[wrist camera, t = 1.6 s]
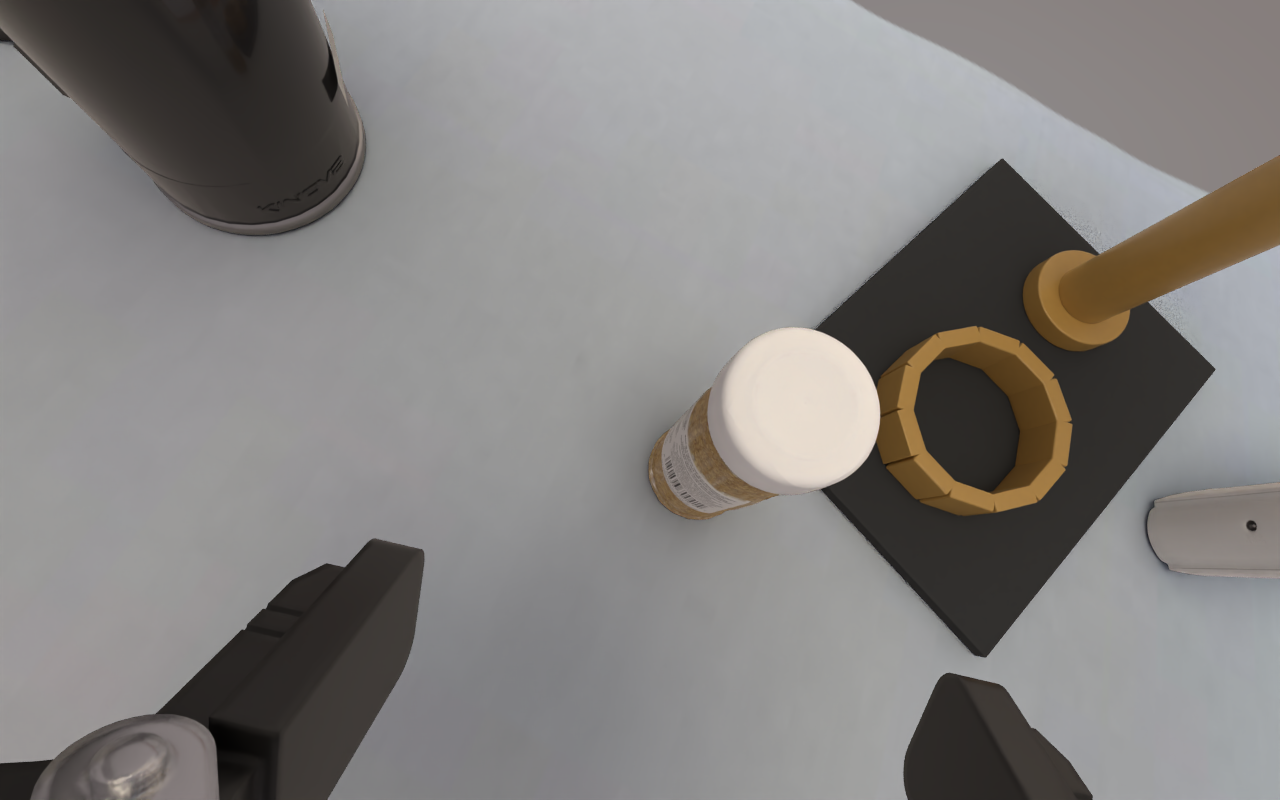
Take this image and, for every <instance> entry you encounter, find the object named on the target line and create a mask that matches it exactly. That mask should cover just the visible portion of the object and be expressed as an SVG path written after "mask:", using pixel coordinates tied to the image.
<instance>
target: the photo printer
mask: <svg viewBox="0 0 1280 800" xmlns="http://www.w3.org/2000/svg"><path fill="white" fill-rule="evenodd" d="M1147 529H1148V536H1149V540H1150V542H1151V545H1152V547H1153V549H1154V551H1155V553H1156V554H1157V556H1158V557H1159V558H1160V560H1162V561H1163V562H1165V563H1167V564H1168V567H1169V569H1170V570H1172V571H1176V572H1181V573H1186V574H1193V575H1202V576H1222V577H1249V578H1280V482H1277V483H1268V484H1258V485H1249V486H1239V487H1230V488H1220V489H1206V490H1201V491H1191V492H1185V493H1180V494H1175V495H1171V496H1167V497H1164V498H1160V499H1157V500H1155V501H1154V508H1153V509H1151V510H1150V512H1149V516H1148V522H1147Z"/></svg>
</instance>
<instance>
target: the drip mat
mask: <svg viewBox="0 0 1280 800" xmlns="http://www.w3.org/2000/svg"><path fill="white" fill-rule="evenodd" d="M1070 250H1077V251H1084V252H1087V253H1090V254H1093V255H1095V256H1098V255H1099V253H1098V252H1097V251H1096V250H1095V249H1094V248H1093V247H1092V246H1091V245H1090V244H1089V243H1088V242H1087V241H1086V240H1085V239H1084V238H1083V237H1082V236H1081V235H1080V234H1078V233H1077V232H1076V231H1075V230H1074V229H1073V228H1072V227H1071V226H1070V225H1069V224H1068V223H1067V222H1066V221H1065V220H1064V219H1063V218H1062V217H1061V216H1060V215H1059V214H1058V213H1057V212H1056V211H1055V210H1054V209H1053V208H1052V207H1051V206H1050V205H1049V204H1048V203H1047V202H1046V201H1045V200H1044V199H1043V198H1042V197H1041V196H1040V195H1039V194H1038V193H1037V192H1036V191H1035V190H1034V189H1033V188H1032V187H1031V186H1030V185H1029V184H1028V183H1027V182H1026V181H1025V180H1024V179H1023V178H1022V177H1021V176H1020V175H1019V174H1018V173H1017V172H1016V171H1015V170H1014V169H1013V168H1012V167H1011V166H1010V165H1009V164H1008V163H1007V162H1006V161H1005V160H1004V159H1001V160H1000V161H998V162H997V163H996V164H995V165H994V166H993V167H992V168H991V169H990V170H988V171H987V172H986V173H985V174H984V175H983V176H982V177H981V178H980V179H979V180H978V181H976V182H975V183H974V184H973V185H972V186H971V187H970V188H969V189H968V190H967V191H966V192H964V193H963V194H962V195H961V196H960V197H959V198H958V199H957V200H956V201H955V202H954V203H953V204H951V205H950V206H949V207H948V208H947V209H946V210H945V211H944V212H943V213H942V214H941V215H939V216H938V217H937V218H936V219H935V220H934V221H933V222H932V223H931V224H930V225H929V226H927V227H926V228H925V229H924V230H923V231H922V232H921V233H920V234H919V235H918V236H917V237H916V238H914V239H913V240H912V241H911V242H910V243H909V244H908V245H907V246H906V247H905V248H904V249H902V250H901V251H900V252H899V253H898V254H897V255H896V256H895V257H894V258H893V259H892V260H890V261H889V262H888V263H887V264H886V265H885V266H884V267H883V268H882V269H881V270H880V271H879V272H877V273H876V274H875V275H874V276H873V277H872V278H871V279H870V280H869V281H868V282H867V283H865V284H864V285H863V286H862V287H861V288H860V289H859V290H858V291H857V292H856V293H855V294H853V295H852V296H851V297H850V298H849V299H848V300H847V301H846V302H845V303H844V304H843V305H842V306H840V307H839V308H838V309H837V310H836V311H835V312H834V313H833V314H832V315H831V316H830V317H828V318H827V319H826V320H825V321H824V322H823V323H822V324H821V325H820V326H819V327H818V328H816V329H815V330H816V331H819V332H822V333H824V334H827V335H829V336H831V337H833V338H835V339H836V340H838V341H840V342H841V343H843V344H844V345H845V346H846V347H848V348H849V349H850V350H851V351H852V352H853V353H854V354H855V355H856V356H857V357H858V358H859V359H860V360H861V362H862V363H863V364H864V366H865V367H866V369H867V371H868V372H869V374H870V376H871V378H872V380H873V383H874V385H875V388H876V390H877V386H878V381H879V379H881V375H882V374H883V373H884V372H885V371H886V370H887V369H888V368H889V367H890V366H891V365H892V364H893V363H894V362H895V361H896V360H897V359H899V358H900V357H901V356H902V355H903V354H904V353H905V352H906V351H907V350H909V349H910V348H912V347H914V346H916V345H917V344H919V343H921V342H922V341H924V340H926V339H928V338H929V337H931V336H933V335H935V334H937V333H939V332H945V331H950V330H956V329H961V328H967V327H972V326H977V328H978V327H983V328H986V329H989V330H991V331H994V332H997V333H1000V334H1002V335H1005V336H1008V337H1011V338H1013V339H1016V340H1019V341H1020V343H1019V344H1021V343H1024V344H1025V345H1026V346H1027V347H1028V348H1029V349H1030V350H1031V351H1032V352H1033V353H1034V354H1035V355H1036V356H1037V357H1038V358H1039V359H1040V360H1041V361H1042V363H1043V364H1044V365H1045V366H1046V367H1047V368H1048V369H1049V370H1050V371H1051V372H1052V373H1053V374H1054V376H1053V378H1052V379H1054V378H1055V379H1057V381H1058V383H1059V386H1060V389H1061V392H1062V394H1063V397H1064V400H1065V403H1066V405H1067V408H1068V411H1069V414H1070V416H1071V419H1072V420H1071V421H1070V422H1067V423H1070V424H1072V433H1071V441H1070V449H1069V457H1068V464H1067V466H1066V467H1064V468H1065V471H1064V473H1063V474H1062V475H1061V476H1060V477H1059V479H1058V480H1057V481H1056V482H1055V483H1054V485H1053V486H1052V487H1051V488H1050V489H1049V490H1048V492H1047V493H1046V494H1045V495H1044V496H1043V498H1042V499H1041V500H1039V501H1037V503H1034V504H1030V505H1025V506H1021V507H1017V508H1013V509H1009V510H1005V511H1001V512H996V513H987V514H978V515H969V516H962V515H956V514H953V513H950V512H947V511H944V510H941V509H938V508H935V507H932V506H929V505H926V504H923V503H921V502H920V501H919V500H920V499H917V500H916V499H915V498H914V497H913V496H912V495H911V494H910V493H909V492H908V491H907V490H906V489H905V488H904V487H903V485H902V484H901V483H900V482H899V481H898V480H897V479H896V478H895V477H894V476H893V475H892V474H891V473H890V472H889V471H888V469H887V468H886V466H887V465H888V464H889V463H887V464H883V462H882V458H881V455H880V452H879V448H878V445H877V442H876V441H875V444H874V446H873V448H872V450H871V452H870V454H869V456H868V458H867V459H866V460H865V461H864V463H863V464H862V465H861V466H860V467H859V468H858V469H857V470H856V471H855V472H853V473H852V474H851V475H849V476H848V477H847V478H845V479H843V480H841V481H839V482H837V483H835V484H832V485H830V486H827V487H825V488H822V490H823V492H824V493H825V494H826V495H827V496H828V497H829V498H830V499H831V500H832V501H833V502H834V503H835V504H836V506H837V507H838V508H839V509H840V510H841V511H842V512H843V513H844V514H845V515H846V516H847V517H848V519H849V520H850V521H851V522H852V523H853V524H854V525H855V526H856V527H857V528H858V529H859V530H860V532H861V533H862V534H863V535H864V536H865V537H866V538H867V539H868V540H869V541H870V542H871V543H872V544H873V546H874V547H875V548H876V549H877V550H878V551H879V552H880V553H881V554H882V555H883V556H884V557H885V559H886V560H887V561H888V562H889V563H890V564H891V565H892V566H893V567H894V568H895V569H896V570H897V572H898V573H899V574H900V575H901V576H902V577H903V578H904V579H905V580H906V581H907V582H908V583H909V584H910V586H911V587H912V588H913V589H914V590H915V591H916V592H917V593H918V594H919V595H920V596H921V597H922V599H923V600H924V601H925V602H926V603H927V604H928V605H929V606H930V607H931V608H932V609H933V610H934V611H935V613H936V614H937V615H938V616H939V617H940V618H941V619H942V620H943V621H944V622H945V623H946V624H947V626H948V627H949V628H950V629H951V630H952V631H953V632H954V633H955V634H956V635H957V636H958V637H959V639H960V640H961V641H962V642H963V643H964V644H965V645H966V646H967V647H968V648H969V649H970V650H971V651H972V653H973V654H974V655H976V656H981V657H987V655H988V654H989V653H990V652H991V650H992V649H993V648H994V647H995V645H996V644H997V643H998V642H999V640H1000V639H1001V638H1002V637H1003V635H1004V634H1005V633H1006V632H1007V630H1008V629H1009V628H1010V627H1011V625H1012V624H1013V623H1014V622H1015V620H1016V619H1017V618H1018V617H1019V615H1020V614H1021V613H1022V612H1023V610H1024V609H1025V608H1026V607H1027V605H1028V604H1029V603H1030V601H1031V600H1032V599H1033V598H1034V596H1035V595H1036V594H1037V593H1038V591H1039V590H1040V589H1041V588H1042V586H1043V585H1044V584H1045V583H1046V581H1047V580H1048V579H1049V578H1050V576H1051V575H1052V574H1053V573H1054V571H1055V570H1056V569H1057V568H1058V566H1059V565H1060V564H1061V563H1062V561H1063V560H1064V559H1065V558H1066V556H1067V555H1068V554H1069V553H1070V551H1071V550H1072V549H1073V548H1074V546H1075V545H1076V544H1077V543H1078V541H1079V540H1080V539H1081V538H1082V536H1083V535H1084V534H1085V533H1086V531H1087V530H1088V529H1089V528H1090V526H1091V525H1092V524H1093V523H1094V521H1095V520H1096V519H1097V518H1098V516H1099V515H1100V514H1101V513H1102V511H1103V510H1104V509H1105V507H1106V506H1107V505H1108V504H1109V502H1110V501H1111V500H1112V499H1113V497H1114V496H1115V495H1116V494H1117V492H1118V491H1119V490H1120V489H1121V487H1122V486H1123V485H1124V484H1125V482H1126V481H1127V480H1128V479H1129V477H1130V476H1131V475H1132V474H1133V472H1134V471H1135V470H1136V469H1137V467H1138V466H1139V465H1140V464H1141V462H1142V461H1143V460H1144V459H1145V457H1146V456H1147V455H1148V454H1149V452H1150V451H1151V450H1152V449H1153V447H1154V446H1155V445H1156V444H1157V442H1158V441H1159V440H1160V439H1161V437H1162V436H1163V435H1164V434H1165V432H1166V431H1167V430H1168V429H1169V427H1170V426H1171V425H1172V424H1173V422H1174V421H1175V420H1176V418H1177V417H1178V416H1179V415H1180V413H1181V412H1182V411H1183V410H1184V408H1185V407H1186V406H1187V405H1188V403H1189V402H1190V401H1191V400H1192V398H1193V397H1194V396H1195V395H1196V393H1197V392H1198V391H1199V390H1200V388H1201V387H1202V386H1203V385H1204V383H1205V382H1206V381H1207V380H1208V378H1209V377H1210V376H1211V375H1212V373H1213V372H1214V371H1215V368H1214V367H1213V366H1212V365H1211V364H1210V363H1209V362H1208V361H1207V360H1206V359H1205V358H1204V357H1203V356H1202V355H1201V354H1200V353H1199V352H1198V351H1197V350H1196V349H1195V348H1194V347H1193V346H1192V345H1191V344H1190V343H1189V342H1188V341H1187V340H1186V339H1185V338H1184V337H1183V336H1182V335H1181V334H1180V333H1179V332H1178V331H1177V330H1176V329H1174V328H1173V327H1172V326H1171V325H1170V324H1169V323H1168V322H1167V321H1166V320H1165V319H1164V318H1163V317H1162V316H1161V315H1160V314H1159V313H1158V312H1157V311H1156V310H1155V309H1154V308H1153V307H1152V306H1151V305H1150V304H1149V303H1148V302H1146V303H1143V304H1141V305H1139V306H1136V307H1134V308H1132V309H1130V315H1129V320H1128V323H1127V325H1126V327H1125V329H1124V330H1123V332H1122V333H1121V334H1120V335H1119V336H1118V337H1117V338H1116V339H1114V340H1113V341H1111V342H1108V343H1106V344H1103V345H1101V346H1098V347H1096V348H1093V349H1090V350H1087V351H1069V350H1065V349H1062V348H1059V347H1057V346H1055V345H1053V344H1051V343H1050V342H1048V341H1047V340H1046V339H1044V338H1043V337H1042V336H1041V335H1040V334H1039V333H1038V332H1037V331H1036V329H1035V328H1034V327H1033V325H1032V324H1031V322H1030V320H1029V319H1028V316H1027V314H1026V311H1025V308H1024V303H1023V287H1024V283H1025V281H1026V278H1027V276H1028V275H1029V273H1030V272H1031V271H1032V269H1033V268H1035V267H1036V266H1037V265H1039V264H1040V263H1042V262H1043V261H1045V260H1047V259H1048V258H1050V257H1052V256H1053V255H1055V254H1057V253H1060V252H1063V251H1070ZM914 413H915V416H916V420H917V423H918V426H919V429H920V432H921V435H922V439H923V442H924V445H925V448H926V451H927V452H928V453H929V454H930V455H931V456H932V457H933V458H934V459H935V460H936V461H937V462H938V463H939V465H940V466H941V467H942V468H943V469H944V470H945V471H946V472H947V473H948V474H949V475H950V476H951V477H952V478H953V479H954V480H955V481H956V482H959V483H962V484H965V485H968V486H971V487H974V488H977V489H980V490H982V491H985V492H991V491H994V490H995V489H996V487H997V486H998V485H999V484H1000V483H1001V482H1002V481H1003V479H1004V478H1005V477H1006V476H1007V475H1008V474H1009V473H1010V471H1011V470H1012V469H1013V468H1014V467H1015V462H1016V456H1017V449H1018V442H1019V436H1020V430H1019V427H1018V424H1017V421H1016V418H1015V415H1014V412H1013V409H1012V407H1011V404H1010V401H1009V398H1008V396H1007V395H1006V394H1005V393H1004V392H1003V391H1002V390H1001V389H1000V388H999V387H998V386H997V385H996V384H995V383H994V382H993V381H992V379H991V378H990V377H989V376H988V375H987V374H986V373H985V372H984V371H983V370H982V369H980V368H977V367H974V366H971V365H968V364H966V363H963V362H960V361H957V360H954V359H952V358H944V359H939V360H933V361H932V362H931V363H930V364H929V365H928V366H927V367H926V368H925V369H924V370H923V371H922V372H921V375H920V380H919V385H918V390H917V395H916V400H915V405H914Z"/></svg>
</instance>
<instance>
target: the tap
mask: <svg viewBox="0 0 1280 800" xmlns="http://www.w3.org/2000/svg"><path fill="white" fill-rule="evenodd" d="M1278 245H1280V155H1279V156H1277V157H1275V158H1274V159H1272V160H1270V161H1268V162H1266V163H1265V164H1263V165H1261V166H1259V167H1257V168H1255V169H1254V170H1252V171H1250V172H1248V173H1246V174H1245V175H1243V176H1241V177H1239V178H1237V179H1235V180H1234V181H1232V182H1230V183H1228V184H1226V185H1225V186H1223V187H1221V188H1219V189H1218V190H1216V191H1214V192H1212V193H1210V194H1208V195H1206V196H1205V197H1203V198H1201V199H1199V200H1197V201H1196V202H1194V203H1192V204H1190V205H1188V206H1186V207H1185V208H1183V209H1181V210H1179V211H1177V212H1176V213H1174V214H1172V215H1170V216H1168V217H1167V218H1165V219H1163V220H1161V221H1159V222H1157V223H1156V224H1154V225H1152V226H1150V227H1148V228H1147V229H1145V230H1143V231H1141V232H1139V233H1138V234H1136V235H1134V236H1132V237H1130V238H1128V239H1127V240H1125V241H1123V242H1121V243H1119V244H1118V245H1116V246H1114V247H1112V248H1110V249H1109V250H1107V251H1105V252H1103V253H1101V254H1099V255H1098V256H1095V255H1093V254H1090V253H1087V252H1084V251H1077V250H1070V251H1063V252H1060V253H1057V254H1055V255H1053V256H1052V257H1050V258H1048V259H1047V260H1045V261H1043V262H1042V263H1040V264H1039V265H1037V266H1036V267H1035V268H1033V269H1032V271H1031V272H1030V273H1029V275H1028V276H1027V278H1026V281H1025V283H1024V287H1023V303H1024V308H1025V311H1026V314H1027V316H1028V319H1029V320H1030V322H1031V324H1032V325H1033V327H1034V328H1035V329H1036V331H1037V332H1038V333H1039V334H1040V335H1041V336H1042V337H1043V338H1044V339H1046V340H1047V341H1048V342H1050V343H1051V344H1053V345H1055V346H1057V347H1059V348H1062V349H1065V350H1069V351H1087V350H1090V349H1093V348H1096V347H1098V346H1101V345H1103V344H1106V343H1108V342H1111V341H1113V340H1114V339H1116V338H1117V337H1118V336H1119V335H1120V334H1121V333H1122V332H1123V330H1124V329H1125V327H1126V325H1127V323H1128V320H1129V315H1130V309H1132V308H1134V307H1136V306H1139V305H1141V304H1143V303H1146V302H1148V301H1150V300H1153V299H1155V298H1157V297H1160V296H1162V295H1164V294H1167V293H1169V292H1171V291H1174V290H1176V289H1178V288H1181V287H1183V286H1185V285H1188V284H1190V283H1192V282H1195V281H1197V280H1199V279H1202V278H1204V277H1206V276H1209V275H1211V274H1213V273H1216V272H1218V271H1220V270H1223V269H1225V268H1227V267H1230V266H1232V265H1234V264H1236V263H1239V262H1241V261H1243V260H1246V259H1248V258H1250V257H1253V256H1255V255H1257V254H1260V253H1262V252H1264V251H1267V250H1269V249H1271V248H1274V247H1276V246H1278ZM1019 343H1020V341H1019V340H1016V339H1013V338H1011V337H1008V336H1005V335H1002V334H1000V333H997V332H994V331H991V330H989V329H986V328H983V327H978V328H977V326H972V327H967V328H961V329H956V330H950V331H945V332H939V333H937V334H935V335H933V336H931V337H929V338H928V339H926V340H924V341H922V342H921V343H919V344H917V345H916V346H914V347H912V348H910V349H909V350H907V351H906V352H905V353H904V354H903V355H902V356H901V357H900V358H899V359H897V360H896V361H895V362H894V363H893V364H892V365H891V366H890V367H889V368H888V369H887V370H886V371H885V372H884V373H883V374H882V375H881V379H879V381H878V386H877V394H878V399H879V404H880V425H879V431H878V435H877V438H876V442H877V445H878V448H879V452H880V455H881V458H882V462H883V464H887V463H889V464H888V465H887V466H886V468H887V469H888V471H889V472H890V473H891V474H892V475H893V476H894V477H895V478H896V479H897V480H898V481H899V482H900V483H901V484H902V485H903V487H904V488H905V489H906V490H907V491H908V492H909V493H910V494H911V495H912V496H913V497H914V498H915V499H916V500H917V499H920V500H919V501H920V502H921V503H923V504H926V505H929V506H932V507H935V508H938V509H941V510H944V511H947V512H950V513H953V514H956V515H962V516H969V515H978V514H987V513H996V512H1001V511H1005V510H1009V509H1013V508H1017V507H1021V506H1025V505H1030V504H1034V503H1037V501H1039V500H1041V499H1042V498H1043V496H1044V495H1045V494H1046V493H1047V492H1048V490H1049V489H1050V488H1051V487H1052V486H1053V485H1054V483H1055V482H1056V481H1057V480H1058V479H1059V477H1060V476H1061V475H1062V474H1063V473H1064V471H1065V468H1064V467H1066V466H1067V464H1068V457H1069V449H1070V441H1071V433H1072V424H1070V423H1067V422H1070V421H1071V420H1072V419H1071V416H1070V414H1069V411H1068V408H1067V405H1066V403H1065V400H1064V397H1063V394H1062V392H1061V389H1060V386H1059V383H1058V381H1057V379H1055V378H1054V379H1052V378H1053V376H1054V374H1053V373H1052V372H1051V371H1050V370H1049V369H1048V368H1047V367H1046V366H1045V365H1044V364H1043V363H1042V361H1041V360H1040V359H1039V358H1038V357H1037V356H1036V355H1035V354H1034V353H1033V352H1032V351H1031V350H1030V349H1029V348H1028V347H1027V346H1026V345H1025V344H1024V343H1021V344H1019ZM944 358H952V359H954V360H957V361H960V362H963V363H966V364H968V365H971V366H974V367H977V368H980V369H982V370H983V371H984V372H985V373H986V374H987V375H988V376H989V377H990V378H991V379H992V381H993V382H994V383H995V384H996V385H997V386H998V387H999V388H1000V389H1001V390H1002V391H1003V392H1004V393H1005V394H1006V395H1007V396H1008V398H1009V401H1010V404H1011V407H1012V409H1013V412H1014V415H1015V418H1016V421H1017V424H1018V427H1019V430H1020V436H1019V442H1018V449H1017V456H1016V462H1015V467H1014V468H1013V469H1012V470H1011V471H1010V473H1009V474H1008V475H1007V476H1006V477H1005V478H1004V479H1003V481H1002V482H1001V483H1000V484H999V485H998V486H997V487H996V489H995V490H994V491H991V492H985V491H982V490H980V489H977V488H974V487H971V486H968V485H965V484H962V483H959V482H956V481H955V480H954V479H953V478H952V477H951V476H950V475H949V474H948V473H947V472H946V471H945V470H944V469H943V468H942V467H941V466H940V465H939V463H938V462H937V461H936V460H935V459H934V458H933V457H932V456H931V455H930V454H929V453H928V452H927V451H926V448H925V445H924V442H923V439H922V435H921V432H920V429H919V426H918V423H917V420H916V416H915V413H914V405H915V400H916V395H917V390H918V385H919V380H920V375H921V372H922V371H923V370H924V369H925V368H926V367H927V366H928V365H929V364H930V363H931V362H932V361H933V360H939V359H944Z"/></svg>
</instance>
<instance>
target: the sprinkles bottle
mask: <svg viewBox="0 0 1280 800" xmlns="http://www.w3.org/2000/svg"><path fill="white" fill-rule="evenodd" d="M879 425H880V404H879V399H878V394H877V390H876V388H875V385H874V383H873V380H872V378H871V376H870V374H869V372H868V371H867V369H866V367H865V366H864V364H863V363H862V362H861V360H860V359H859V358H858V357H857V356H856V355H855V354H854V353H853V352H852V351H851V350H850V349H849V348H848V347H846V346H845V345H844V344H843V343H841V342H840V341H838V340H836V339H835V338H833V337H831V336H829V335H827V334H824V333H822V332H819V331H816V330H812V329H806V328H796V327H786V328H781V329H776V330H772V331H769V332H766V333H764V334H762V335H760V336H758V337H756V338H754V339H752V340H751V341H750V342H748V343H747V344H746V345H745V346H744V347H743V348H741V349H740V350H739V351H738V352H737V353H736V354H735V355H734V356H733V357H732V358H731V359H730V360H729V362H728V363H727V364H726V365H725V366H724V367H723V368H722V370H721V371H720V373H719V374H718V376H717V378H716V379H715V381H714V384H713V386H712V387H711V388H710V389H708V390H707V391H706V392H705V393H704V394H703V395H702V396H701V397H700V398H699V399H698V400H697V401H696V402H695V403H694V404H693V405H692V406H691V408H690V409H689V410H688V411H687V412H686V413H685V414H684V415H683V416H682V417H681V418H680V419H679V420H678V421H677V422H676V423H675V424H674V425H673V427H672V428H671V429H669V430H668V431H667V432H665V433H664V434H663V435H662V436H661V437H660V438H659V439H658V441H657V442H656V444H655V446H654V448H653V450H652V452H651V455H650V459H649V471H648V472H649V480H650V483H651V485H652V489H653V491H654V492H655V494H656V495H657V498H658V499H659V501H660V502H661V503H662V504H663V505H664V506H666V507H667V508H668V509H669V510H670V511H672V512H673V513H675V514H677V515H680V516H683V517H685V518H687V519H696V520H704V519H709V518H712V517H714V516H717V515H720V514H722V513H723V512H725V511H727V510H736V509H740V508H744V507H747V506H750V505H754V504H757V503H759V502H761V501H762V500H765V499H769V498H771V497H774V496H778V495H798V494H804V493H808V492H812V491H815V490H818V489H822V488H825V487H827V486H830V485H832V484H835V483H837V482H839V481H841V480H843V479H845V478H847V477H848V476H849V475H851V474H852V473H853V472H855V471H856V470H857V469H858V468H859V467H860V466H861V465H862V464H863V463H864V461H865V460H866V459H867V458H868V456H869V454H870V452H871V450H872V448H873V446H874V444H875V441H876V438H877V435H878V431H879Z"/></svg>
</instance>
